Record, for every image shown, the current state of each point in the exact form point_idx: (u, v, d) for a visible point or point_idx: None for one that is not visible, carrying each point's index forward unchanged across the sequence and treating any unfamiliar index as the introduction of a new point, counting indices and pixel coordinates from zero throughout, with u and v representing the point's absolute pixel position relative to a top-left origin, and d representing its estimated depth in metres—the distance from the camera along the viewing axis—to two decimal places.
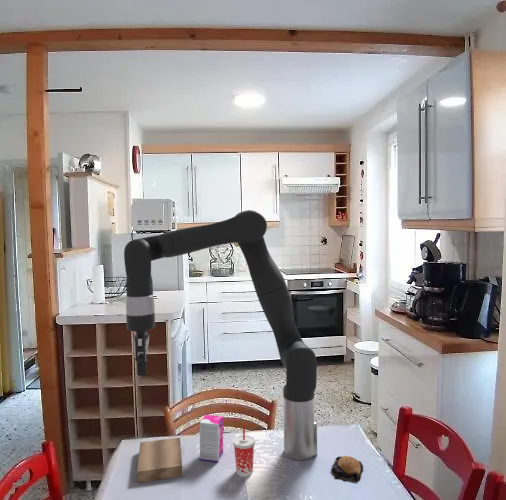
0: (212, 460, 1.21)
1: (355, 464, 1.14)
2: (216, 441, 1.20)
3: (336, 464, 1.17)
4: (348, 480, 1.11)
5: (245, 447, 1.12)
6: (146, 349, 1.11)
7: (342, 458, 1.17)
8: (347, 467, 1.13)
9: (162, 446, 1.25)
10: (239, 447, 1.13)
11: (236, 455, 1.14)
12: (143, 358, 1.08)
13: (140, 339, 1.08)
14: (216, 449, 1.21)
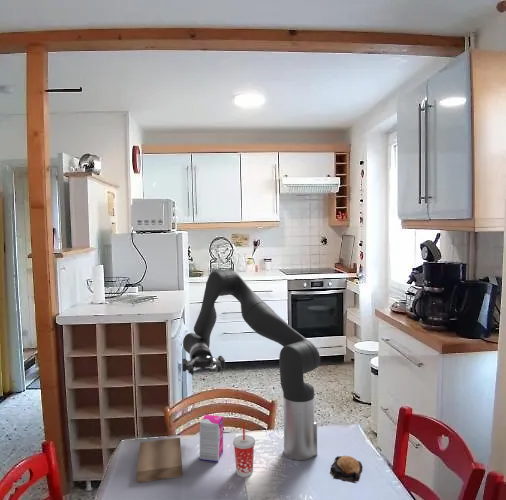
0: (212, 460, 1.21)
1: (354, 464, 1.14)
2: (216, 441, 1.20)
3: (335, 464, 1.17)
4: (347, 480, 1.11)
5: (245, 447, 1.12)
6: None
7: (341, 458, 1.17)
8: (346, 467, 1.13)
9: (162, 446, 1.25)
10: (239, 447, 1.13)
11: (236, 455, 1.14)
12: None
13: None
14: (216, 449, 1.21)
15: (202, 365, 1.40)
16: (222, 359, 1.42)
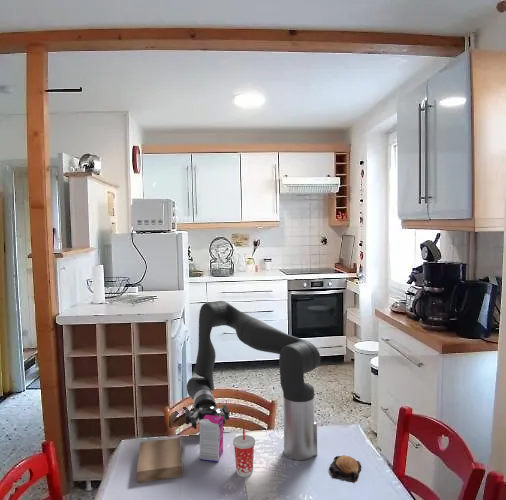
0: (212, 460, 1.21)
1: (352, 464, 1.14)
2: (216, 441, 1.20)
3: (334, 463, 1.17)
4: (345, 479, 1.11)
5: (245, 447, 1.12)
6: None
7: (340, 457, 1.17)
8: (344, 466, 1.14)
9: (162, 446, 1.25)
10: (239, 447, 1.13)
11: (236, 455, 1.14)
12: None
13: None
14: (216, 449, 1.21)
15: None
16: (226, 410, 1.38)
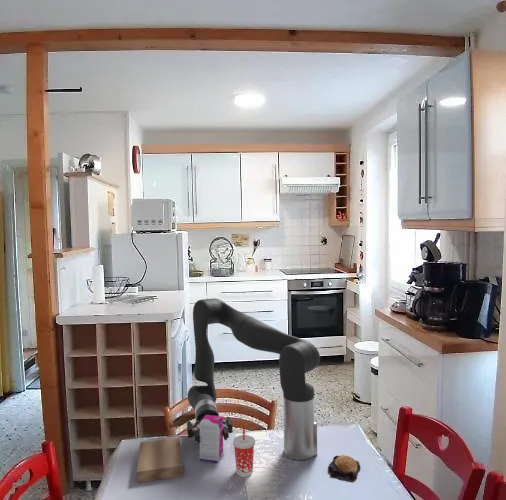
0: (212, 460, 1.21)
1: (351, 464, 1.14)
2: (216, 441, 1.20)
3: (333, 463, 1.18)
4: (344, 479, 1.11)
5: (245, 447, 1.12)
6: None
7: (339, 457, 1.18)
8: (343, 466, 1.14)
9: (162, 446, 1.25)
10: (239, 447, 1.13)
11: (236, 455, 1.14)
12: (187, 430, 1.25)
13: None
14: (216, 449, 1.21)
15: None
16: (230, 422, 1.29)
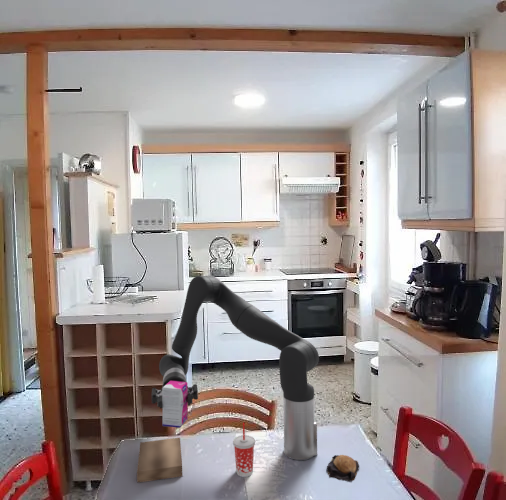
0: (175, 425, 1.19)
1: (350, 463, 1.14)
2: (178, 406, 1.18)
3: (332, 463, 1.18)
4: (342, 479, 1.11)
5: (245, 447, 1.12)
6: None
7: (338, 457, 1.18)
8: (342, 465, 1.14)
9: (162, 446, 1.25)
10: (239, 447, 1.13)
11: (236, 455, 1.14)
12: None
13: None
14: (178, 414, 1.18)
15: None
16: (195, 389, 1.27)
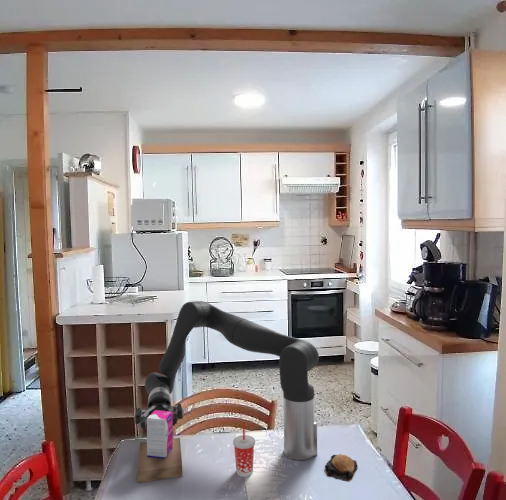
0: (159, 456, 1.18)
1: (348, 463, 1.15)
2: (163, 437, 1.17)
3: (330, 462, 1.18)
4: (340, 478, 1.12)
5: (245, 447, 1.12)
6: None
7: (336, 456, 1.18)
8: (340, 465, 1.14)
9: None
10: (239, 447, 1.13)
11: (236, 455, 1.14)
12: None
13: None
14: (163, 445, 1.17)
15: None
16: (180, 409, 1.30)
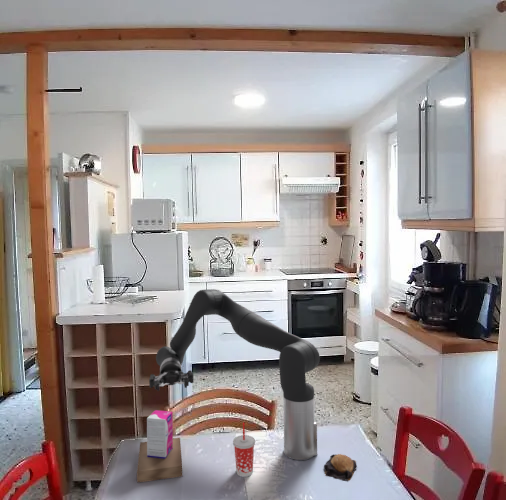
0: (159, 456, 1.18)
1: (347, 463, 1.15)
2: (163, 437, 1.17)
3: (330, 462, 1.18)
4: (339, 478, 1.12)
5: (245, 447, 1.12)
6: None
7: (336, 456, 1.18)
8: (339, 465, 1.14)
9: None
10: (239, 447, 1.13)
11: (236, 455, 1.14)
12: None
13: None
14: (163, 445, 1.17)
15: (170, 380, 1.38)
16: (191, 374, 1.39)
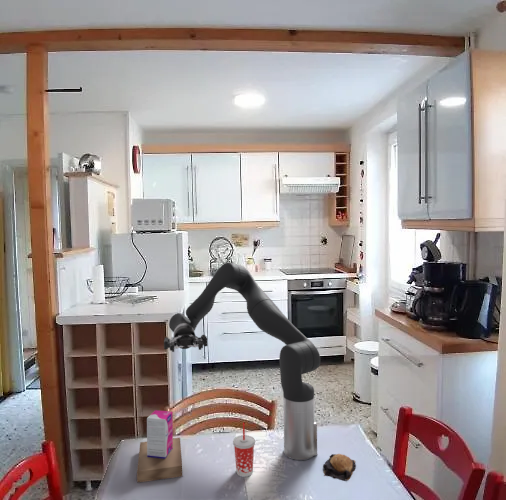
0: (159, 456, 1.18)
1: (346, 462, 1.15)
2: (163, 437, 1.17)
3: (329, 461, 1.19)
4: (338, 477, 1.12)
5: (245, 447, 1.12)
6: None
7: (335, 456, 1.18)
8: (338, 464, 1.15)
9: None
10: (239, 447, 1.13)
11: (236, 455, 1.14)
12: None
13: None
14: (163, 445, 1.17)
15: (184, 343, 1.39)
16: (205, 337, 1.40)
